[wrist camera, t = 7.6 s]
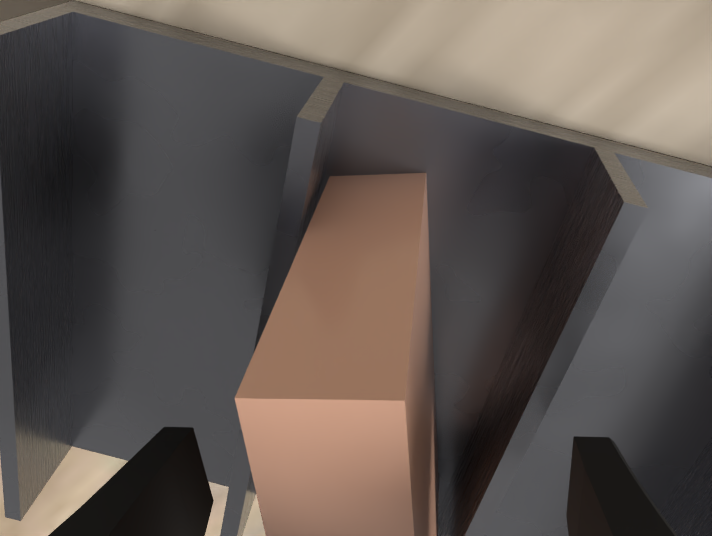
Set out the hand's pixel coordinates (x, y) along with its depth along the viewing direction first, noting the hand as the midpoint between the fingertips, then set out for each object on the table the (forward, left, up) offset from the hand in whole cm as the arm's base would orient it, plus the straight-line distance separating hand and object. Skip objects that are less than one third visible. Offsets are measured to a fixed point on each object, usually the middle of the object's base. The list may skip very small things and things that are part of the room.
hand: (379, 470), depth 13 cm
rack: (0, 0, -4) cm, 4 cm away
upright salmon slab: (0, 0, -4) cm, 4 cm away
